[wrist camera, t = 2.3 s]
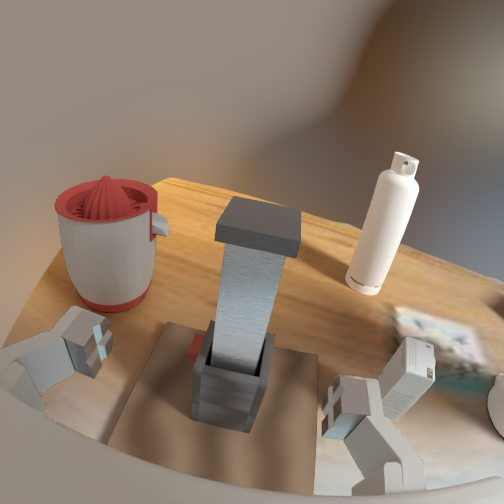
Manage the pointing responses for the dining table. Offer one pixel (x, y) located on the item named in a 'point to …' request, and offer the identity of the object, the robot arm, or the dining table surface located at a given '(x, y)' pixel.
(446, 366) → the dining table surface
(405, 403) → the skincare box
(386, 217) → the bottle
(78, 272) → the citrus juicer
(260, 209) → the column
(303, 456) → the stand
